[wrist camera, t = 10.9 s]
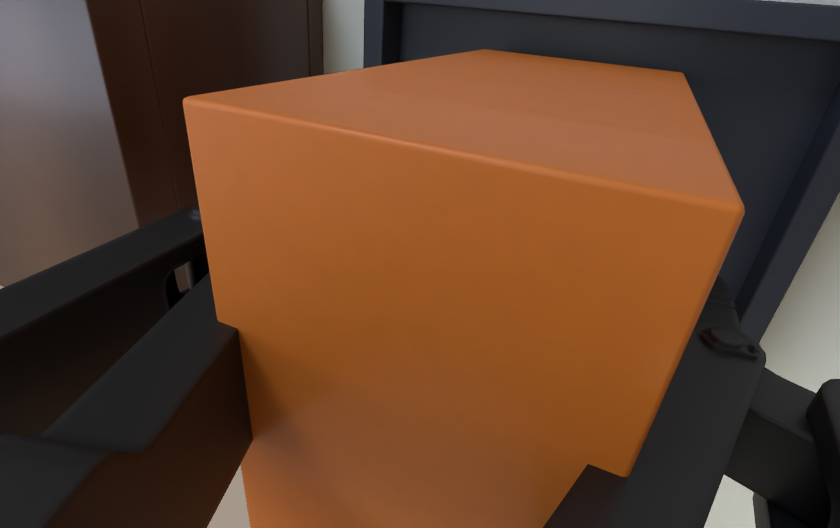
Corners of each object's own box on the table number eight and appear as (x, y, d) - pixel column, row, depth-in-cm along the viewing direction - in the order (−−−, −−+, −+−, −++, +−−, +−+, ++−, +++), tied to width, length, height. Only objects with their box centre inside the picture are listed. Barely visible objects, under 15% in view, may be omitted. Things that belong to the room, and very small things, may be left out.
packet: (684, 72, 13) (750, 206, 4) (601, 328, 18) (531, 700, 8) (482, 48, 15) (178, 95, 6) (452, 284, 20) (251, 541, 10)
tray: (900, 13, 13) (936, 12, 11) (723, 367, 19) (729, 401, 17) (392, -23, 18) (364, -27, 16) (380, 265, 24) (359, 283, 22)
